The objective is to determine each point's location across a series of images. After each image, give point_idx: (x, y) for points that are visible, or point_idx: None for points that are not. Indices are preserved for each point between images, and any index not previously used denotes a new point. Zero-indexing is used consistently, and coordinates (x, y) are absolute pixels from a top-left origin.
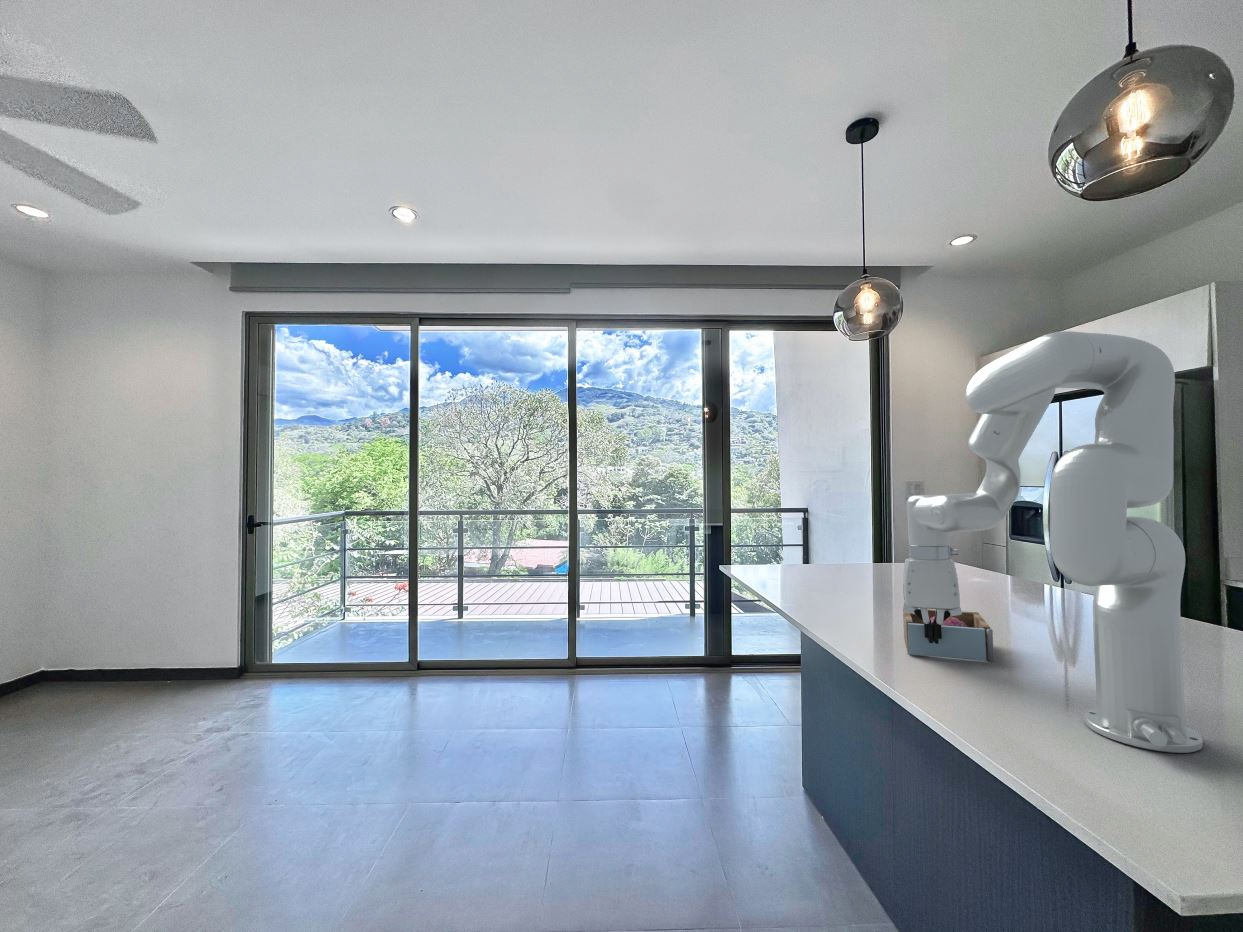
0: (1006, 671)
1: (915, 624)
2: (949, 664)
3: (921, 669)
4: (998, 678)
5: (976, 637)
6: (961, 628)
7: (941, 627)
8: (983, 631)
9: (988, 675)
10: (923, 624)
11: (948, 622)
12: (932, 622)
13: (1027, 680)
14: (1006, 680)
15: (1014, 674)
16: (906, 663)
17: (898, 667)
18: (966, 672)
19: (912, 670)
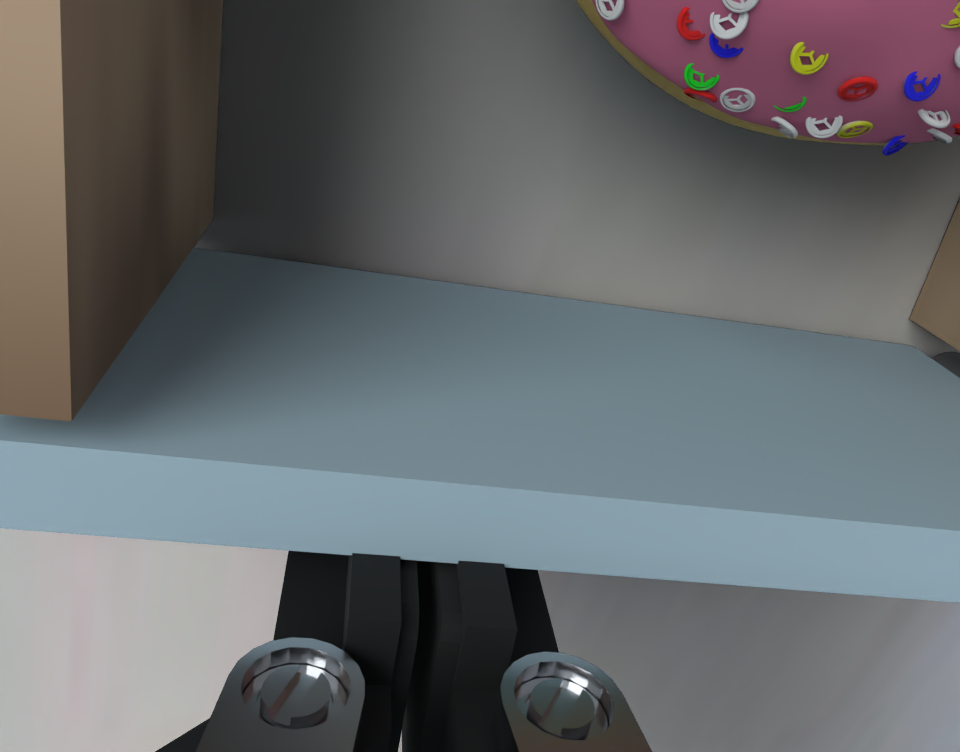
0: None
1: (128, 531)
2: None
3: (225, 664)
4: (759, 714)
5: None
6: (878, 588)
7: (586, 557)
8: None
9: (721, 674)
10: (291, 496)
11: (945, 13)
12: (436, 654)
13: (936, 705)
14: (792, 737)
15: (932, 611)
16: (102, 541)
17: (22, 662)
18: (583, 649)
19: (144, 703)
